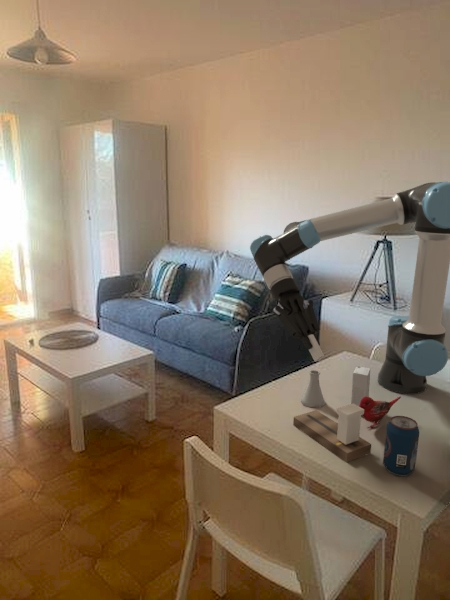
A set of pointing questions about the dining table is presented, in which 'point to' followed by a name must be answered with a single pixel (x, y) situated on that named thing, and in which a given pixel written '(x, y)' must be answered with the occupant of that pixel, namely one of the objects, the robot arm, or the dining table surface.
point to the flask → (313, 391)
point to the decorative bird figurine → (375, 409)
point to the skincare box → (360, 384)
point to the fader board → (330, 436)
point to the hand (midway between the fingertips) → (319, 358)
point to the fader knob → (349, 423)
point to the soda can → (401, 445)
